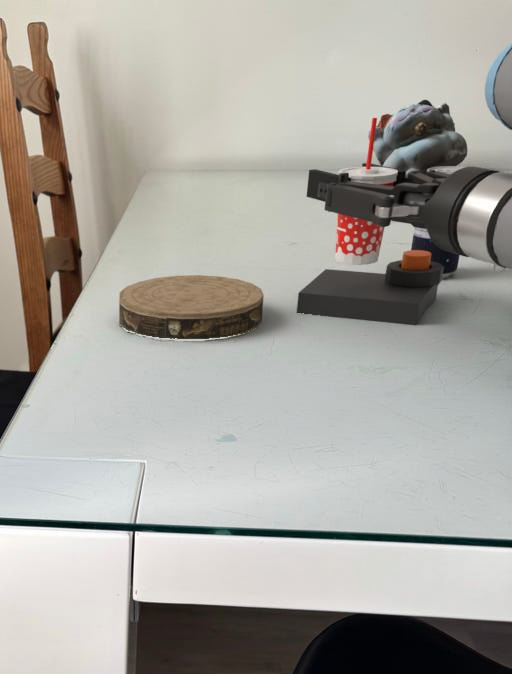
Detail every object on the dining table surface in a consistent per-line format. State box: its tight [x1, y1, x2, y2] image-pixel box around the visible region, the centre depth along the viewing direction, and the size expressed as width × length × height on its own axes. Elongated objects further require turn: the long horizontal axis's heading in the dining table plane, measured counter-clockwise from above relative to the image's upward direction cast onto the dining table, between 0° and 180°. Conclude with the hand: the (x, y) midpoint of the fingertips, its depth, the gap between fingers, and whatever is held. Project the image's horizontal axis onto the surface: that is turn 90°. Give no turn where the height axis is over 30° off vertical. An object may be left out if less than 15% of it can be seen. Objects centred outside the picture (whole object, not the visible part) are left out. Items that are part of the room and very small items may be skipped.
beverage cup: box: [334, 117, 398, 266], centre depth 107 cm, size 6×6×14 cm
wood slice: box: [118, 274, 265, 339], centre depth 112 cm, size 16×16×3 cm
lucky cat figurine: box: [367, 99, 468, 175], centre depth 175 cm, size 15×12×14 cm
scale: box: [296, 259, 444, 326], centre depth 113 cm, size 13×12×4 cm
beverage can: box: [410, 166, 466, 280], centre depth 120 cm, size 6×6×12 cm
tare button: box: [401, 249, 431, 270], centre depth 112 cm, size 3×3×2 cm
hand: (337, 179), depth 110 cm, fingers closed on beverage cup, 6 cm apart
